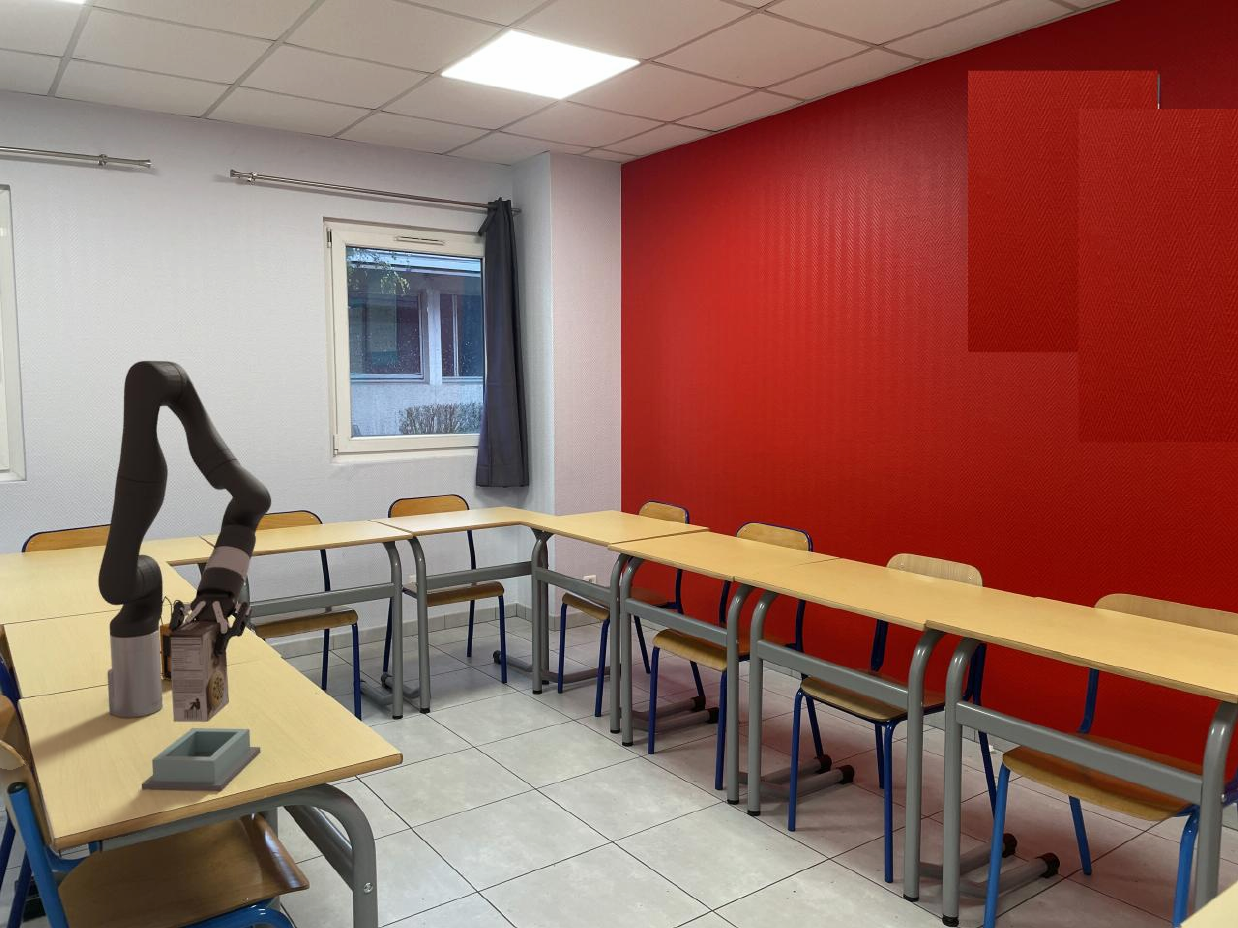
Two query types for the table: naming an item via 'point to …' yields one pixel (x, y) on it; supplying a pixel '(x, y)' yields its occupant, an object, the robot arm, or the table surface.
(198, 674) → the coffee box
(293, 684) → the table surface
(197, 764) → the box
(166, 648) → the multimeter
